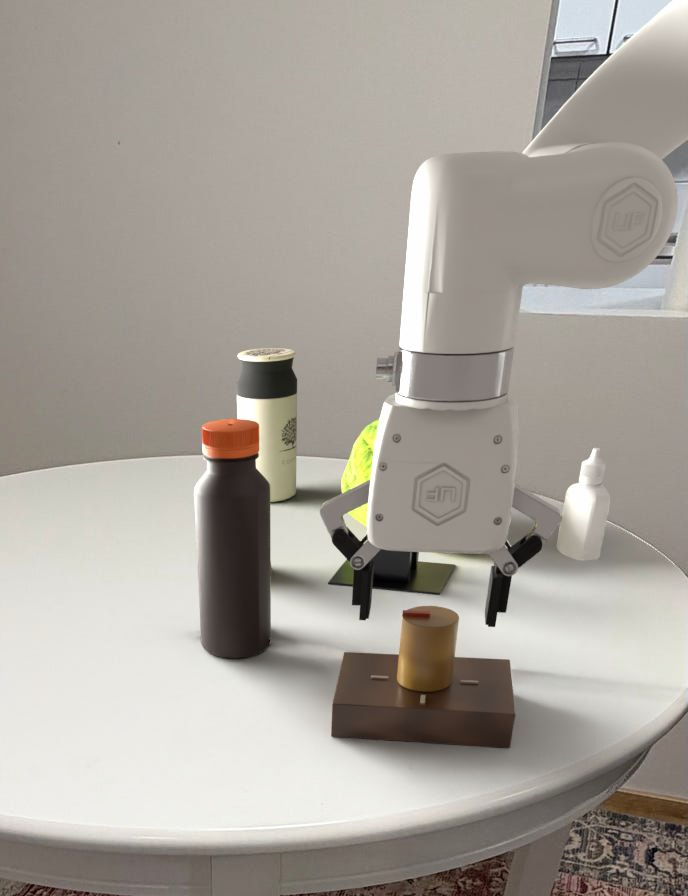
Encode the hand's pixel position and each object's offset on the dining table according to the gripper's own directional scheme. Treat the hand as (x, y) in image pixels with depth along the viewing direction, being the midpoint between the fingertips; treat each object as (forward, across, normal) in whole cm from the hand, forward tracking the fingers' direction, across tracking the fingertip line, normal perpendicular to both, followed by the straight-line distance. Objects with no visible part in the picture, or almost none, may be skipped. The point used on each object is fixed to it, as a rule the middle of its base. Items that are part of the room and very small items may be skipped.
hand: (426, 617), depth 75 cm
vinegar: (+9, -18, +12) cm, 23 cm away
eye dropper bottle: (+8, +16, +39) cm, 43 cm away
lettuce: (+8, -1, +44) cm, 45 cm away
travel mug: (+9, -23, +63) cm, 68 cm away
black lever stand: (+8, -4, +30) cm, 31 cm away
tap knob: (+5, 0, 0) cm, 5 cm away
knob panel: (+8, 0, 0) cm, 9 cm away
